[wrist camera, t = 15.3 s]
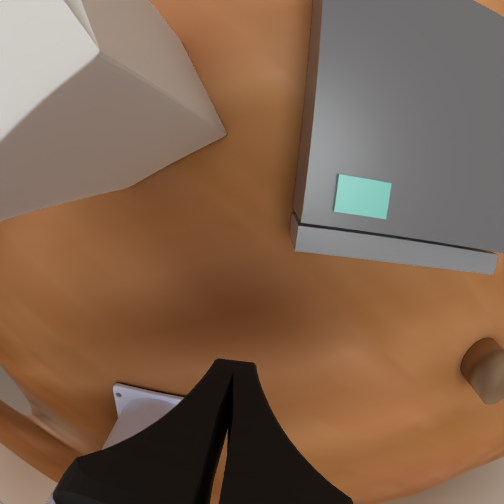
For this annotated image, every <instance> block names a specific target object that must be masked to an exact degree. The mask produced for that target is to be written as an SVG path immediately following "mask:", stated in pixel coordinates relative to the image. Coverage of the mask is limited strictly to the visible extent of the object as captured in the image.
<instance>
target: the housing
mask: <svg viewBox="0 0 504 504" xmlns="http://www.w3.org/2000/svg"><path fill="white" fill-rule="evenodd" d="M292 207H293V209H294V211H295V213H296V214H297V216H298V218H299V220H300V222H301V223H307V224H315V225H322V226H330V227H338V228H345V229H353V230H360V231H367V232H374V233H381V234H388V235H395V236H402V237H408V238H415V239H421V240H428V241H434V242H440V243H446V244H452V245H458V246H464V247H470V248H476V249H482V250H488V251H493V252H499V253H504V17H503V16H501V15H499V14H498V13H496V12H494V11H492V10H490V9H489V8H487V7H485V6H483V5H481V4H479V3H477V2H475V1H473V0H313V3H312V17H311V31H310V43H309V55H308V67H307V78H306V89H305V99H304V109H303V119H302V129H301V138H300V147H299V156H298V165H297V173H296V182H295V190H294V198H293V206H292Z"/></svg>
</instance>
